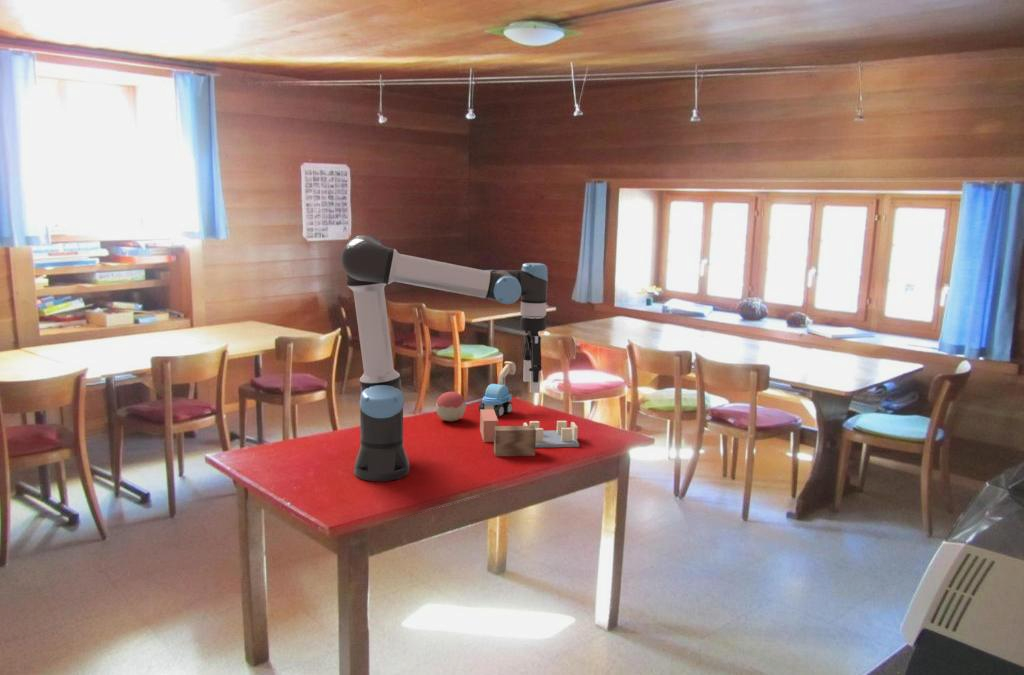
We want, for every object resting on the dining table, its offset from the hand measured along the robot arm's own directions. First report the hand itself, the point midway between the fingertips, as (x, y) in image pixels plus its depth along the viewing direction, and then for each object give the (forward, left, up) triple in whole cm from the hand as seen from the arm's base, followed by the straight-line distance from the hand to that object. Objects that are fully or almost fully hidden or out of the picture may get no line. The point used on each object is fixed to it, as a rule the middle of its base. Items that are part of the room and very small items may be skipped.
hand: (531, 386), depth 238 cm
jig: (+9, +12, -21) cm, 25 cm away
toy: (-21, +36, -21) cm, 47 cm away
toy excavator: (-3, +46, -21) cm, 51 cm away
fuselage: (-4, 0, -21) cm, 21 cm away
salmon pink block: (-10, +18, -21) cm, 30 cm away
